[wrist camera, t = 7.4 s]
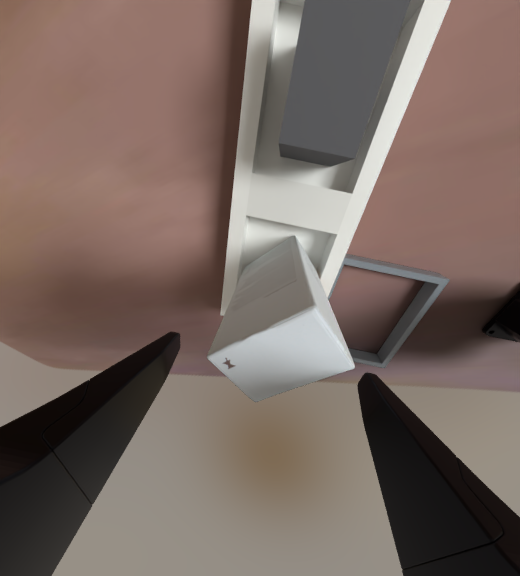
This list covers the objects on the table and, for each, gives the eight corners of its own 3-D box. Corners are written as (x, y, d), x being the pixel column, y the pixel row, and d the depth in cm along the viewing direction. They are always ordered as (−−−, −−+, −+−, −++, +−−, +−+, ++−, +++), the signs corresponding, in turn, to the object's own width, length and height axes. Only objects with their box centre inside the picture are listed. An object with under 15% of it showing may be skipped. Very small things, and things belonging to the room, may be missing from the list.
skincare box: (267, 296, 21) (252, 405, 11) (244, 266, 20) (200, 358, 10) (318, 268, 19) (359, 371, 9) (296, 232, 18) (314, 303, 7)
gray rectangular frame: (438, 273, 19) (449, 279, 17) (379, 358, 25) (384, 368, 23) (336, 251, 19) (340, 256, 18) (301, 341, 25) (302, 350, 23)
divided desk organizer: (434, -2, 11) (469, -46, 9) (309, 320, 23) (312, 334, 21) (265, -36, 11) (261, -88, 9) (226, 302, 23) (220, 315, 21)
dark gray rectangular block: (363, 57, 12) (422, -35, 7) (330, 166, 15) (354, 158, 10) (301, 44, 12) (315, -57, 7) (280, 156, 15) (278, 142, 10)
